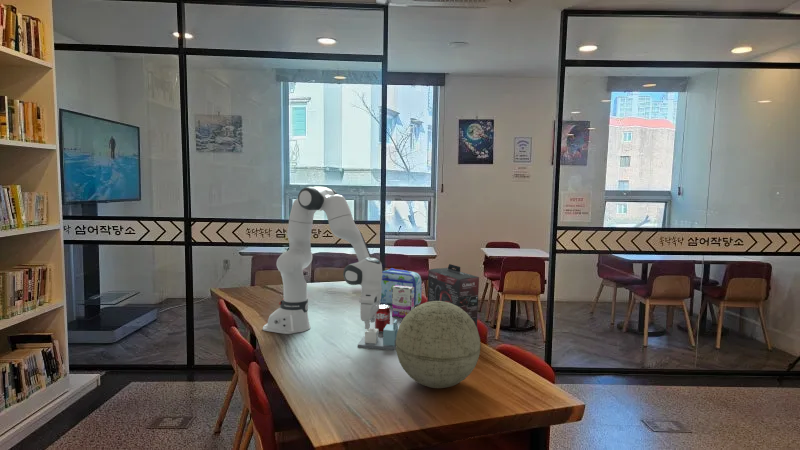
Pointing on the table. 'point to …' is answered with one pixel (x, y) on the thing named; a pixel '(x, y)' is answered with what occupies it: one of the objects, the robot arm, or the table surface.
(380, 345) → the plate
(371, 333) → the jaw
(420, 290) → the lunch box
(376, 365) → the table surface
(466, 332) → the celestial globe
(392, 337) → the cover
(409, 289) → the candy bar box
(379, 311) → the soda can
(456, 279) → the headset box
